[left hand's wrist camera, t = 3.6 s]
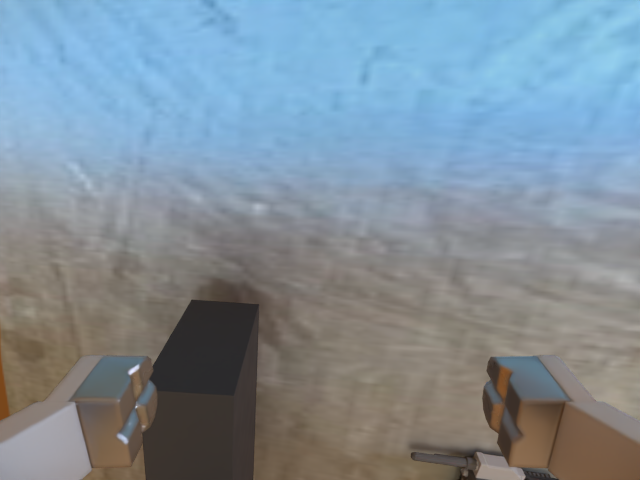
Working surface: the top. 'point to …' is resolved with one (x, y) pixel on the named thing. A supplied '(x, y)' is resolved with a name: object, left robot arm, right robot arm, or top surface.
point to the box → (205, 396)
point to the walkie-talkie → (482, 467)
